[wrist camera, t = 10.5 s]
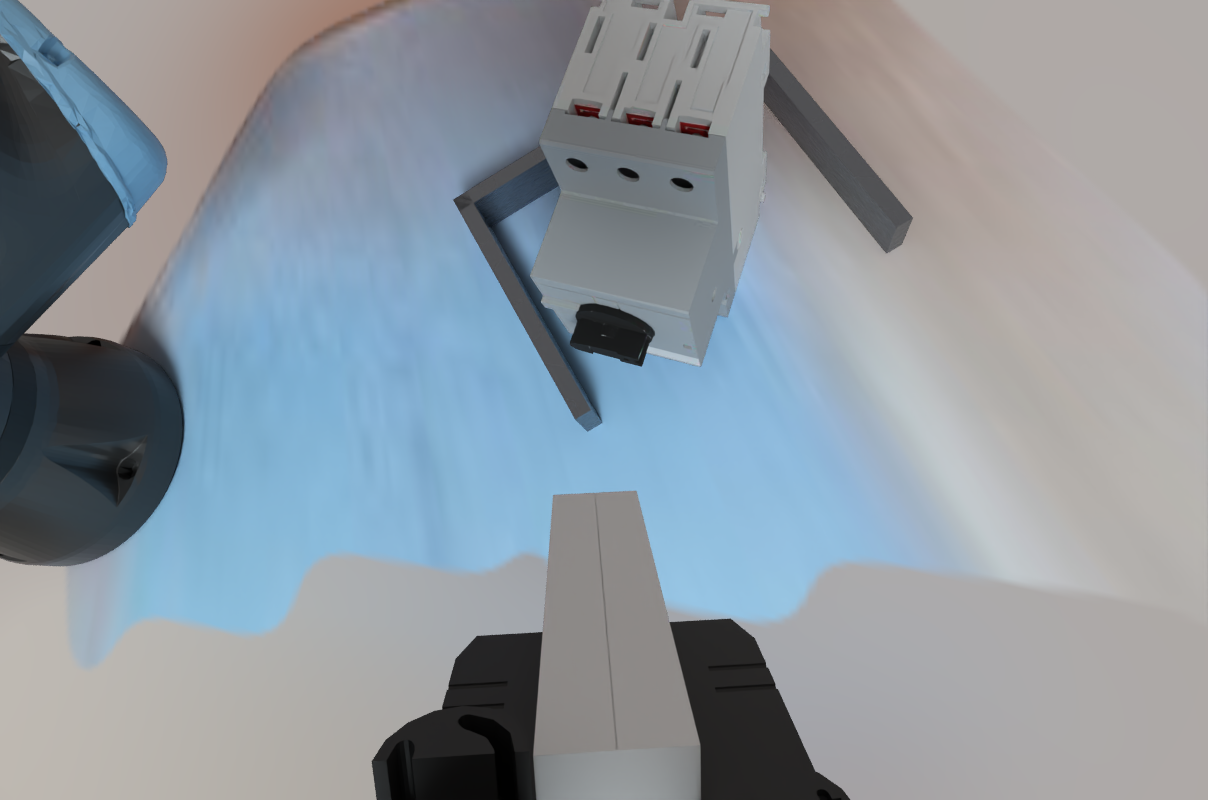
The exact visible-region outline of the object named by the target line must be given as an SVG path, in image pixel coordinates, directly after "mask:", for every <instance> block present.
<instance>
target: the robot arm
mask: <svg viewBox="0 0 1208 800" xmlns="http://www.w3.org/2000/svg"><path fill="white" fill-rule="evenodd" d="M166 168H167V158H166V154H165V151H164V148H163V146H162V145H161V143H160V142H159V140H158V139H157V138H156V136H155V135H154V134H153V133H152V132H151V131H150V130H149V128H148V127H147V126H146V125H145V124H144V123H143V122H142V121H141V120H140V119H139V118H138V117H137V116H136V114H135V113H134V112H133V111H132V110H131V109H130V108H129V107H128V106H127V105H126V104H125V103H124V102H123V101H122V100H121V99H120V98H119V97H118V96H117V95H116V94H115V93H114V92H113V91H112V90H111V89H110V88H109V87H108V86H107V85H106V84H105V83H104V82H103V81H102V80H101V79H100V78H99V77H98V76H97V75H96V74H94V72H93V71H91V70H90V69H89V68H88V67H87V66H86V65H85V64H84V63H83V62H82V61H81V60H80V59H79V58H78V57H77V56H75V55H74V54H73V53H72V52H71V51H69V50H68V49H66V48H65V47H64V46H63V44H62V42H61V41H60V40H59V39H58V38H56V37H55V36H54V35H53V34H52V33H51V32H50V31H49V30H48V29H47V28H46V27H45V26H44V25H43V24H42V23H41V22H40V21H39V20H38V19H37V18H36V17H35V16H34V15H33V14H32V13H31V12H30V11H29V10H28V9H27V8H26V7H25V6H23V5H22V4H21V3H20V2H19V1H18V0H0V558H1V559H4V560H6V561H10V562H14V563H19V564H25V565H43V566H71V565H77V564H82V563H85V562H89V561H91V560H94V559H97V558H99V557H101V556H103V555H105V554H107V553H108V552H110V551H112V550H114V549H115V548H117V547H118V546H120V545H121V544H122V543H124V542H125V541H126V540H127V539H128V538H130V537H131V536H132V535H133V534H134V533H135V532H136V531H137V530H138V529H139V528H140V527H141V526H142V525H143V524H144V523H145V522H146V520H147V519H148V518H149V517H150V515H151V514H152V513H153V511H154V510H155V509H156V507H157V506H158V504H159V502H160V501H161V499H162V497H163V496H164V494H165V492H166V490H167V488H168V486H169V484H170V481H171V479H172V476H173V474H174V471H175V468H176V465H177V461H178V458H179V453H180V448H181V441H182V414H181V407H180V403H179V399H178V396H177V393H176V390H175V388H174V386H173V384H172V382H171V380H170V378H169V377H168V375H167V374H166V372H165V371H164V370H163V369H162V368H161V367H160V366H159V365H158V364H157V363H156V362H155V361H154V360H152V359H151V358H150V357H148V356H146V355H145V354H143V353H140V352H138V351H136V350H133V349H131V348H128V347H126V346H123V345H120V344H118V343H115V342H112V341H109V340H105V339H101V338H95V337H78V336H77V337H65V336H56V335H44V334H25V332H26V331H27V330H28V329H29V328H30V327H31V325H33V324H34V322H35V321H36V320H37V319H38V318H39V317H40V316H41V315H42V314H43V313H44V312H45V311H46V310H47V309H48V308H49V307H50V306H51V305H52V304H53V303H54V302H55V301H56V300H57V299H58V298H59V297H60V296H61V295H62V294H63V293H64V291H66V289H68V287H69V286H70V285H71V284H72V283H73V282H74V281H75V280H76V279H77V278H78V277H79V276H80V275H81V274H82V273H83V272H84V271H85V270H86V269H87V268H88V267H89V266H90V265H91V264H92V263H93V262H94V261H95V260H96V259H97V258H98V257H99V256H100V254H102V252H103V251H104V250H105V249H106V248H107V247H108V246H109V245H110V244H111V243H112V242H113V241H114V240H115V239H116V238H117V237H118V236H119V235H120V234H121V233H122V232H123V231H124V230H125V229H126V228H127V227H128V228H130V227H131V226H132V225H133V223H134V222H135V221H136V214H137V213H138V211H139V210H140V209H141V208H142V206H143V205H144V204H145V203H146V202H147V200H148V199H149V198H150V197H151V196H152V194H153V193H154V192H155V191H156V189H157V188H158V187H159V186H160V185H161V183H162V182H163V180H164V177H165V174H166ZM372 767H373V775H374V782H375V790H376V797H377V800H850V799H849V798H848V796H847V795H846V794H845V792H844V791H843V790H842V789H841V788H840V787H838V786H837V785H835V784H834V783H833V782H831V781H830V780H828V779H827V778H825V777H824V776H823V775H821V774H820V773H818V772H815V770H814V768H813V765H812V763H811V761H810V759H809V757H808V754H807V752H806V750H805V748H804V746H803V744H802V741H801V739H800V737H799V735H798V732H797V730H796V728H795V726H794V724H793V721H792V719H791V717H790V715H789V713H788V710H787V708H786V706H785V704H784V702H783V699H782V697H781V695H780V693H779V691H778V689H776V687H775V682H774V680H773V677H772V675H771V673H770V671H769V669H768V668H766V662H765V660H764V658H763V656H762V654H761V651H760V649H759V647H758V645H757V642H756V640H755V638H754V637H752V636H751V635H750V634H749V633H747V632H746V631H745V630H744V629H743V628H741V627H740V626H739V625H738V624H736V623H735V622H734V621H733V620H732V619H718V620H700V621H683V622H669V618H668V615H667V610H666V607H665V603H664V599H663V595H662V591H661V587H660V583H659V579H658V575H657V571H656V567H655V563H654V559H653V555H652V551H651V547H650V543H649V539H648V535H647V531H646V527H645V523H644V519H643V515H642V511H641V507H640V503H639V499H638V495H637V491H623V492H603V493H584V494H564V495H553V504H552V517H551V530H550V543H549V556H548V569H547V582H546V596H545V608H544V621H543V632H538V633H522V634H504V635H487V636H477V637H476V638H475V639H474V640H473V641H472V642H471V643H470V644H469V645H468V646H467V647H466V648H465V649H464V651H462V653H461V654H460V655H459V656H458V657H457V658H456V660H455V664H454V667H453V670H452V674H451V678H450V681H449V689H448V690H447V692H446V695H445V699H444V703H443V706H442V710H437V711H433V712H431V713H429V714H427V715H424V716H422V717H420V718H417V719H415V720H413V721H411V722H408V723H407V724H406V725H404V726H403V727H402V728H400V729H399V730H398V731H397V732H396V733H394V734H393V735H392V736H390V737H389V738H388V739H386V740H385V742H384V743H383V745H382V746H381V748H380V749H379V751H378V753H377V754H376V756H375V757H374V759H373V760H372Z"/></svg>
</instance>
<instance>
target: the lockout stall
mask: <svg viewBox="0 0 1208 800" xmlns="http://www.w3.org/2000/svg"><path fill="white" fill-rule="evenodd" d="M764 102H765V103H766V105H767V106H768V107H769V108H770V110H771V111H772V112H773V113H774V115H775V116H776V117H777V118H778V120H779V121H780V122H781V123H782V124H783V126H784V127H785V128H786V129H787V131H788V132H789V133H790V134H791V136H792V137H793V138H794V139H795V141H796V142H797V143H798V144H799V146H800V147H801V148H802V149H803V151H804V152H805V153H806V154H807V155H808V157H809V158H810V159H811V160H812V162H813V163H814V164H815V165H816V167H817V168H818V169H819V170H820V172H821V173H822V174H823V175H824V177H825V178H826V179H827V180H828V181H829V183H830V184H831V185H832V186H833V188H834V189H835V190H836V191H837V193H838V194H839V195H840V196H841V198H842V199H843V200H844V201H845V203H846V204H847V205H848V206H849V208H850V209H851V210H852V211H853V212H854V214H855V215H856V216H857V217H858V219H859V220H860V221H861V222H862V224H863V225H864V226H865V227H866V229H867V230H868V231H869V232H870V234H871V235H872V236H873V237H874V238H875V240H876V241H877V242H878V243H879V245H880V246H881V247H882V248H883V250H884V251H885V252H886V253H888V252H890V251H891V250H893V249H895V248H896V247H898V246H900V245H902V243H903V240H904V238H905V236H906V233H907V231H908V228H909V226H910V224H911V221H912V219H913V217H912V216H911V215H910V214H909V212H908V211H907V210H906V209H905V208H904V207H903V205H902V204H901V203H900V202H899V201H898V199H897V198H896V197H895V196H894V195H893V193H892V192H891V191H890V190H889V189H888V188H887V186H886V185H885V184H884V183H883V182H882V180H881V179H880V178H879V177H878V176H877V174H876V173H875V172H874V171H873V170H872V169H871V167H870V166H869V165H868V164H867V163H866V161H865V160H864V159H863V158H862V157H861V155H860V154H859V153H858V152H857V151H856V150H855V148H854V147H853V146H852V145H851V144H850V142H849V141H848V140H847V139H846V138H845V136H844V135H843V134H842V133H841V132H840V131H839V129H838V128H837V127H836V126H835V125H834V123H833V122H832V121H831V120H830V119H829V117H828V116H827V115H826V114H825V113H824V112H823V110H822V109H821V108H820V107H819V106H818V104H817V103H816V102H815V101H814V100H813V98H812V97H811V96H810V95H809V94H808V93H807V91H806V90H805V89H804V88H803V87H802V85H801V84H800V83H799V82H798V81H797V79H796V78H795V77H794V76H793V75H792V74H791V72H790V71H789V70H788V69H787V68H786V66H785V65H784V64H783V63H782V62H781V60H780V59H779V58H778V57H777V56H776V55H775V53H774V52H773V51H772V50H771V49H770V61H769V75H768V78H767V81H766V84H765V87H764ZM558 185H559V184H558V182H557V180H556V178H555V176H554V174H553V172H552V170H551V168H550V165H549V163H548V161H547V159H546V157H545V155H544V153H543V151H542V149H541V146H540V147H538V148H536V149H535V150H533V151H531V152H530V153H528V154H527V155H525V156H523V157H522V158H520V159H518V160H517V161H515V162H514V163H512V164H510V165H509V166H507V167H505V168H504V169H502V170H501V171H499V172H497V173H496V174H494V175H492V176H491V177H489V178H488V179H486V180H484V181H483V182H481V183H479V184H478V185H476V186H475V187H473V188H471V189H470V190H468V191H466V192H465V193H463V194H462V195H460V196H458V197H457V198H455V199H454V202H455V204H456V206H457V208H458V209H459V211H460V213H461V215H462V217H463V218H464V220H465V222H466V224H467V226H468V227H469V229H470V231H471V233H472V235H473V236H474V238H475V240H476V242H477V244H478V245H479V247H480V249H481V251H482V253H483V254H484V256H485V258H486V260H487V262H488V263H489V265H490V267H491V269H492V271H493V272H494V274H495V276H496V278H497V280H498V281H499V283H500V285H501V287H502V289H503V290H504V292H505V294H506V296H507V297H508V299H509V301H510V303H511V305H512V306H513V308H514V310H515V312H516V314H517V315H518V317H519V319H520V321H521V323H522V324H523V326H524V328H525V330H526V332H527V333H528V335H529V337H530V339H531V341H532V342H533V344H534V346H535V348H536V350H537V351H538V353H539V355H540V357H541V359H542V360H543V362H544V364H545V366H546V368H547V369H548V371H549V373H550V375H551V377H552V378H553V380H554V382H555V384H556V386H557V387H558V389H559V391H560V393H561V395H562V396H563V398H564V400H565V402H566V404H567V405H568V407H569V409H570V411H571V413H572V414H573V416H574V418H575V420H576V421H577V422H578V423H579V424H580V425H581V426H582V427H583V428H584V429H585V430H586V431H587V432H588V431H589V430H591V429H593V428H594V427H596V426H598V425H599V424H601V423H602V422H601V420H600V418H599V416H598V415H597V413H596V411H595V409H594V408H593V406H592V404H591V402H590V400H589V399H588V397H587V395H586V393H585V392H584V390H583V388H582V386H581V385H580V383H579V381H578V379H577V378H576V376H575V374H574V372H573V371H572V369H571V367H570V365H569V364H568V362H567V360H566V358H565V357H564V355H563V353H562V351H561V350H560V348H559V346H558V344H557V343H556V341H555V339H554V337H553V336H552V334H551V332H550V330H549V329H548V327H547V325H546V323H545V322H544V320H543V318H542V316H541V315H540V313H539V311H538V309H537V308H536V306H535V304H534V302H533V301H532V299H531V297H530V295H529V294H528V292H527V290H526V288H525V287H524V285H523V283H522V281H521V280H520V278H519V276H518V274H517V273H516V271H515V269H514V267H513V265H512V264H511V262H510V260H509V258H508V257H507V255H506V253H505V251H504V250H503V248H502V246H501V244H500V243H499V241H498V239H497V237H496V236H495V234H494V232H493V230H492V229H491V227H492V226H493V225H495V224H496V223H498V222H500V221H501V220H503V219H505V218H506V217H508V216H510V215H511V214H513V213H514V212H516V211H518V210H519V209H521V208H523V207H524V206H526V205H527V204H529V203H531V202H532V201H534V200H536V199H537V198H539V197H541V196H542V195H544V194H545V193H547V192H549V191H550V190H552V189H554V188H555V187H557V186H558Z"/></svg>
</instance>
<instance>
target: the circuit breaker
mask: <svg viewBox="0 0 1208 800" xmlns="http://www.w3.org/2000/svg"><path fill="white" fill-rule="evenodd" d="M642 4H649V5H657V6H659V7H658V10H656V9H648V8H642ZM705 11H708V12H717V13H725V17H724V18H723V17H714V16H706V13H705ZM769 12H770V5H761V4H753V3H744V2H735V1H726V0H690V1H689V3H688V6H687V9H686V12H685V15H684V17H683V20H682V21H680V20H677V15H676V11H675V6H674V1H673V0H602V2H601V5H600V7H593V6H591V8H590V11H589V14H588V16H587V19H586V21H585V24H584V26H583V29H582V31H581V34H580V37H579V39H578V42H577V44H576V47H575V49H574V52H573V55H572V57H571V60H570V62H569V65H568V67H567V70H566V72H565V75H564V78H563V80H562V83H561V85H560V88H559V90H558V93H557V95H556V98H555V101H554V103H553V106H552V108H551V111H550V113H549V116H548V119H547V121H546V124H545V126H544V129H543V131H542V134H541V137H540V139H539V144H540V146H541V149H542V151H543V153H544V155H545V157H546V159H547V161H548V163H549V165H550V168H551V170H552V172H553V174H554V176H555V178H556V180H557V182H558V184H559V187H560V189H561V194H560V196H559V199H558V202H557V204H556V207H555V210H554V212H553V215H552V218H551V220H550V223H549V226H548V229H547V231H546V234H545V237H544V239H543V242H542V245H541V247H540V250H539V253H538V255H537V258H536V261H535V264H534V266H533V269H532V272H531V274H530V277H531V278H532V280H533V282H534V283H535V285H536V286H537V287H538V289H539V290H540V292H541V293H542V295H543V297H542V300H541V303H542V304H543V305H544V307H545V308H549V309H553V310H554V312H555V313H556V315H557V316H558V317H559V319H560V320H561V322H562V323H563V325H564V326H565V327H566V329H567V330H568V332H569V333H571V334H573V335H572V338H571V341H570V345H571V346H572V347H574V348H576V349H578V350H581V351H585V352H588V353H592V354H593V352H595V353H598V354H602V355H606V356H610V357H614V358H617V359H620V361H622V362H626V363H630V364H634V365H637V366H642V365H643V362H644V358H645V355H646V353H648V354H652V355H656V356H660V357H664V358H667V359H671V360H675V361H679V362H683V363H687V364H691V365H694V366H698V367H701V366H702V362H703V359H704V356H705V353H706V350H707V347H708V344H709V340H710V337H711V334H712V331H713V328H714V325H715V322H716V319H717V315H720V316H724V317H728V314H729V311H730V308H731V305H732V301H733V298H734V295H735V292H736V289H737V285H738V282H739V279H740V276H741V273H742V270H743V266H744V263H745V260H746V257H747V254H748V250H749V247H750V244H751V241H752V238H753V235H754V231H755V228H756V225H757V222H758V219H759V211H760V202H763V203H764V199H765V196H766V193H763V190H764V187H765V184H766V162H767V152H766V151H763V101H764V87H765V84H766V81H767V78H768V75H769V61H770V30H765V29H762V27H761V16H763V17H768V15H769Z"/></svg>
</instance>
